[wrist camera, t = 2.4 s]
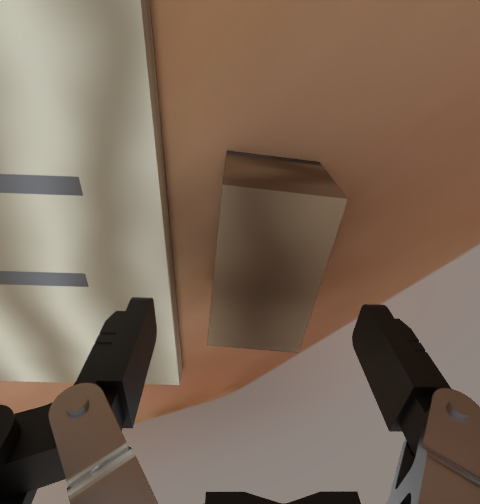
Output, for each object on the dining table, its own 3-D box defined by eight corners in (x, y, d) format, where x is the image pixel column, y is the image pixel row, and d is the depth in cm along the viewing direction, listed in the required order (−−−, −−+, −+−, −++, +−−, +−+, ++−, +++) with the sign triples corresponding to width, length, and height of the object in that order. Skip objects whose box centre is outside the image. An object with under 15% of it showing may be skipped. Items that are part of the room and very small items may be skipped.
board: (142, -73, 12) (131, -89, 11) (182, 368, 26) (179, 385, 24) (-341, -99, 12) (-414, -118, 10) (-41, 363, 25) (-56, 379, 24)
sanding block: (318, 161, 17) (348, 199, 12) (285, 290, 22) (298, 352, 17) (227, 149, 17) (222, 184, 12) (214, 283, 21) (207, 345, 17)
